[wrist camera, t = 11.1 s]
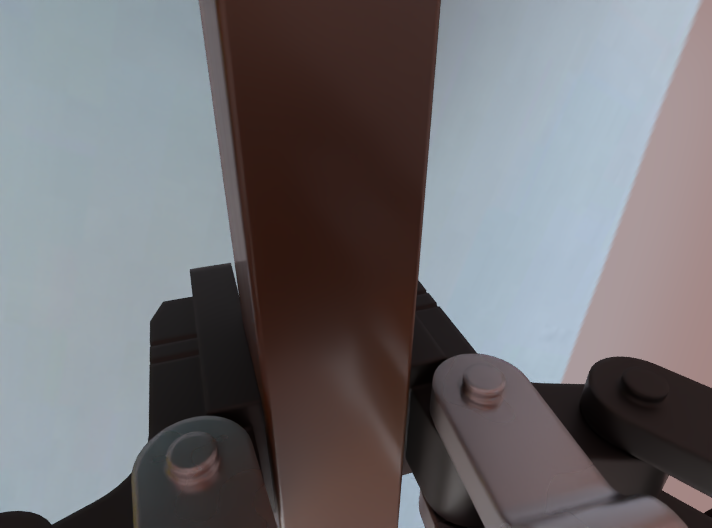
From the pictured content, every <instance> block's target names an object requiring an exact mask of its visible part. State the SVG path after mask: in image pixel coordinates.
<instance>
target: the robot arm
mask: <svg viewBox="0 0 712 528" xmlns="http://www.w3.org/2000/svg"><path fill="white" fill-rule="evenodd" d="M190 276H191V285H192V294H193V297H188V298H182V299H177V300H171V301H165V302H163V303H162V304H161V306H160V307H159V309H158V310H157V312H156V314H155V315H154V317H153V318H152V320H151V321H150V346H151V347H150V382H149V438H148V443H147V444H146V445H145V446H144V447H143V449H142V450H141V452H140V453H139V455H138V457H137V459H136V461H135V463H134V466H133V470H132V473H131V474H130V475H129V476H128V477H127V478H126V479H125V480H124V481H123V482H122V483H121V484H120V485H119V486H118V487H116V488H115V489H114V490H112V491H111V492H110V493H108V494H107V495H105V496H104V497H102V498H100V499H99V500H97V501H95V502H93V503H92V504H90V505H88V506H86V507H84V508H82V509H80V510H79V511H77V512H75V513H73V514H71V515H69V516H67V517H66V518H64V519H62V520H60V521H58V522H56V523H54V524H53V525H51V524H50V522H49V521H48V520H47V519H45V518H43V517H42V516H40V515H38V514H35V513H32V512H25V511H10V512H4V513H0V528H278V527H277V524H276V521H275V517H274V514H273V513H276V512H275V504H274V496H273V488H272V480H271V472H270V464H269V456H268V448H267V440H266V432H265V424H264V417H263V409H262V401H261V397H260V392H259V388H258V384H257V380H256V376H255V371H254V367H253V363H252V359H251V355H250V350H249V346H248V342H247V338H246V334H245V329H244V325H243V320H242V312H241V305H240V298H239V294H238V290H237V286H236V282H235V278H234V274H233V270H232V266H231V263H227V264H220V265H214V266H207V267H201V268H195V269H190ZM408 473H413V475H414V477H415V479H416V481H417V483H418V485H419V487H420V496H419V511H420V515H421V518H422V520H423V523H424V526H425V528H712V508H711V509H710V510H708V511H706V512H705V513H702V512H700V511H698V510H696V509H694V508H693V507H691V506H689V505H687V504H685V503H684V502H682V501H680V500H678V499H677V498H675V497H673V496H671V495H669V494H667V493H666V492H664V491H662V488H663V486H664V484H665V482H666V480H667V478H668V476H669V475H670V476H672V477H674V478H676V479H678V480H680V481H681V482H683V483H685V484H687V485H689V486H691V487H693V488H695V489H697V490H699V491H700V492H702V493H704V494H706V495H708V496H710V497H711V498H712V388H710V387H707V386H705V385H702V384H700V383H698V382H696V381H693V380H691V379H689V378H686V377H684V376H681V375H679V374H677V373H675V372H672V371H670V370H668V369H665V368H663V367H661V366H658V365H656V364H653V363H650V362H648V361H644V360H641V359H636V358H631V357H610V358H606V359H603V360H600V361H598V362H597V363H595V364H594V365H593V366H592V367H591V370H590V371H589V374H588V377H587V380H586V383H585V384H549V383H532V382H530V381H529V380H528V378H527V377H526V376H525V375H524V374H523V373H522V372H521V371H520V370H519V369H517V368H516V367H515V366H513V365H512V364H510V363H508V362H506V361H504V360H502V359H499V358H496V357H493V356H489V355H484V354H477V353H476V351H475V350H474V349H473V348H472V346H471V345H470V344H469V343H468V341H467V340H466V339H465V338H464V336H463V335H462V334H461V333H460V331H459V330H458V329H457V328H456V326H455V325H454V324H453V323H452V322H451V320H450V319H449V318H448V317H447V315H446V314H445V313H444V312H443V310H442V309H441V308H440V307H437V303H436V302H435V300H434V299H433V298H432V297H431V295H430V294H429V293H426V289H425V288H424V287H423V286H422V284H421V283H420V282H419V281H418V286H417V298H416V310H415V323H414V335H413V347H412V359H411V372H410V384H409V396H408V408H407V421H406V433H405V445H404V457H403V470H402V475H405V474H408Z"/></svg>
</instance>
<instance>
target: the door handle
mask: <svg viewBox="0 0 712 528" xmlns="http://www.w3.org/2000/svg"><path fill="white" fill-rule="evenodd" d="M440 4H441V0H199V6H200V13H201V21H202V28H203V35H204V43H205V50H206V57H207V64H208V72H209V79H210V86H211V94H212V101H213V108H214V116H215V123H216V130H217V137H218V145H219V152H220V159H221V167H222V174H223V181H224V188H225V196H226V203H227V210H228V218H229V225H230V232H231V239H232V247H233V254H234V261H235V269H236V276H237V283H238V291H239V298H240V305H241V312H242V320H243V325H244V329H245V334H246V338H247V342H248V346H249V350H250V355H251V359H252V363H253V367H254V371H255V376H256V380H257V384H258V388H259V392H260V397H261V401H262V409H263V417H264V424H265V432H266V440H267V448H268V456H269V464H270V472H271V480H272V488H273V496H274V504H275V512H276V513H273V514H274V517H275V521H276V524H277V527H278V528H398V519H399V506H400V494H401V482H402V470H403V457H404V445H405V433H406V421H407V408H408V396H409V384H410V372H411V359H412V347H413V335H414V323H415V310H416V298H417V286H418V274H419V261H420V249H421V237H422V225H423V212H424V200H425V188H426V176H427V163H428V151H429V139H430V126H431V114H432V102H433V90H434V77H435V65H436V53H437V41H438V28H439V16H440Z"/></svg>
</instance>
